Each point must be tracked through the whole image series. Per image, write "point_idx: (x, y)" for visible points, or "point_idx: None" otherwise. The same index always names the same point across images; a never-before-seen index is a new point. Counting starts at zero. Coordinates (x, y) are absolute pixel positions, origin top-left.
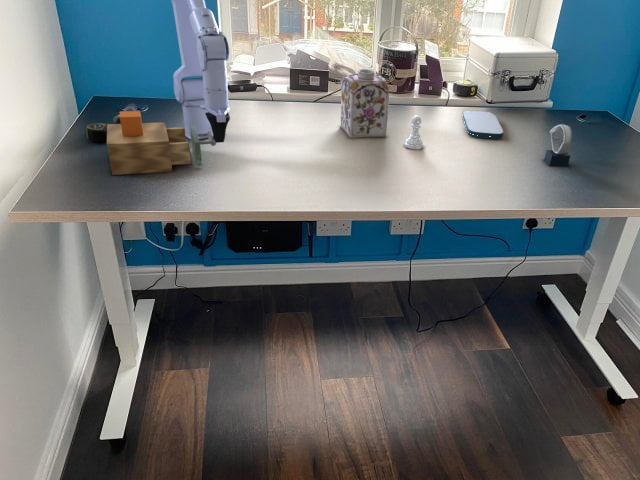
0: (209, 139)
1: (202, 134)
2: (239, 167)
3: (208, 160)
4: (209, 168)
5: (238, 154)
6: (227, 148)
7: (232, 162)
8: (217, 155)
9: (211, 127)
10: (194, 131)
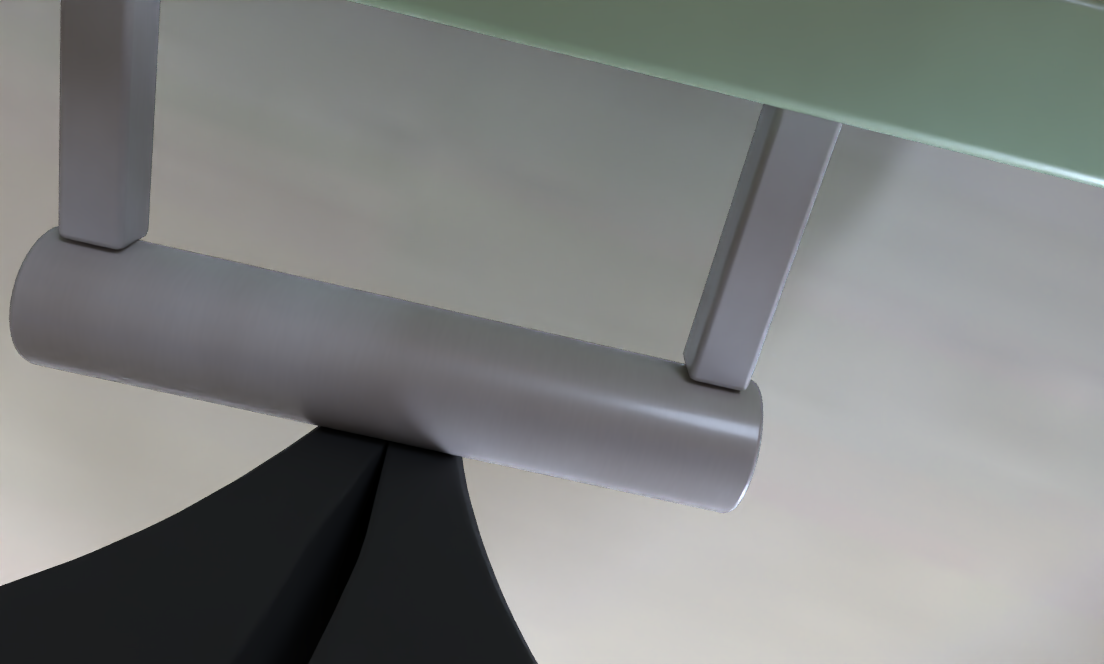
0: (241, 288)
1: (728, 267)
2: (12, 436)
3: (409, 134)
4: (44, 17)
5: (502, 593)
6: (788, 556)
7: (224, 423)
8: (573, 338)
9: (372, 577)
10: (716, 24)
